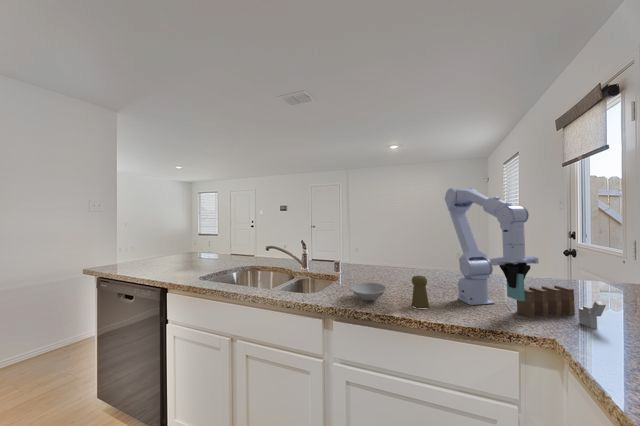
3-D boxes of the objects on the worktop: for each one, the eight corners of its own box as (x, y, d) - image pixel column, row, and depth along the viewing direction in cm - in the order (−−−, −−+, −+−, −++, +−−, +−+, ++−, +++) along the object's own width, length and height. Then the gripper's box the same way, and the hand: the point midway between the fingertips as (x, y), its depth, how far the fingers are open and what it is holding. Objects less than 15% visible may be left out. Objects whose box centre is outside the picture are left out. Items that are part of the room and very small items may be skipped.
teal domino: (519, 301, 83) (518, 274, 83) (507, 296, 88) (506, 271, 88) (524, 300, 83) (523, 274, 83) (511, 296, 88) (510, 271, 88)
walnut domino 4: (570, 314, 85) (568, 289, 86) (555, 309, 90) (554, 285, 91) (574, 314, 86) (573, 289, 86) (559, 309, 91) (558, 285, 91)
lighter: (578, 322, 79) (577, 295, 80) (585, 322, 79) (584, 295, 79) (600, 332, 72) (598, 302, 73) (607, 332, 72) (606, 302, 72)
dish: (385, 308, 97) (385, 294, 97) (346, 305, 101) (346, 292, 101) (389, 294, 114) (388, 282, 114) (355, 293, 118) (354, 281, 118)
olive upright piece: (429, 304, 99) (428, 274, 99) (428, 310, 94) (427, 278, 94) (412, 303, 102) (411, 273, 102) (410, 308, 96) (409, 277, 96)
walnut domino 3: (556, 315, 85) (555, 290, 85) (542, 310, 90) (541, 286, 90) (561, 315, 85) (560, 289, 85) (547, 310, 90) (546, 285, 90)
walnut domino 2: (543, 316, 85) (542, 290, 85) (530, 311, 90) (528, 286, 90) (548, 316, 85) (547, 290, 85) (534, 310, 90) (533, 286, 90)
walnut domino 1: (530, 317, 84) (528, 291, 85) (517, 311, 89) (516, 287, 90) (534, 317, 85) (533, 291, 85) (521, 311, 90) (520, 287, 90)
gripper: (501, 246, 81) (503, 291, 81) (546, 244, 82) (548, 289, 82) (485, 244, 88) (486, 286, 88) (527, 242, 89) (528, 283, 89)
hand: (515, 287), depth 85 cm, fingers closed on teal domino, 1 cm apart
